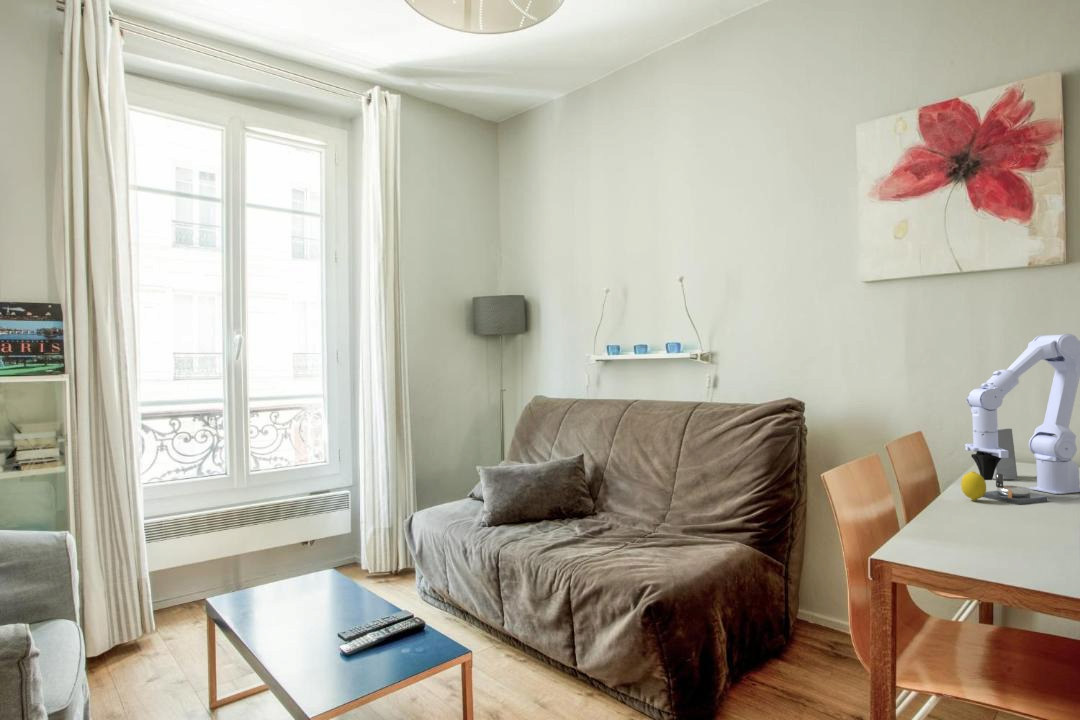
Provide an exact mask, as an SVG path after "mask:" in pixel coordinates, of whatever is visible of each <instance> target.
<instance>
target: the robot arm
mask: <svg viewBox="0 0 1080 720" xmlns="http://www.w3.org/2000/svg"><path fill="white" fill-rule="evenodd" d="M1041 360H1043V361H1044V362H1046V363H1048V364H1049V365H1051V366H1052V367H1053V369H1054V374H1053V380H1052V382H1051V383H1052V384H1051V388H1050V392H1049V397H1048V400H1047V404H1046V405H1047V406H1046V411H1045V415H1044V418H1043V419H1044V420H1043V423H1042V424H1040V425H1038V426H1037V427H1036V428H1035V429H1034V432H1033V435H1032V436H1031V437H1030V438H1029V441H1028V448H1029V451H1030V452H1031V453H1032V454H1033V457H1034V458H1035V462H1036V463H1035V466H1036V467H1035V468H1036V486H1030V487H1028V488H1029V489H1030V490H1033V491H1038V492H1042V493H1043V492H1044V493H1048V494H1049V493H1050V494H1054V495H1063V494H1064V495H1065V494H1073V493H1074V494H1075V493H1080V469H1079V465H1078V464H1077V463H1076V462H1075V461H1074V460H1072V459H1073V458H1074V457H1075V455H1076V453H1077V444H1076V437H1077V435H1076V434H1075V433H1074V432H1073V431H1072V430H1071V429H1070V423H1071V419H1072V418H1071V417H1072V414H1073V409H1074V405H1075V402H1076V401H1075V400H1076V395H1077V391H1078V387H1079V382H1080V340H1079V339H1078V337H1077V336H1076V335H1074V334H1072V333H1064V334H1040V335H1037V336H1035V337H1034V339H1033V340H1032V341H1030V342H1028V343H1027V347H1026V349H1025V350H1023V352H1022V353H1021V354H1020V355H1019V356H1018V357H1017V358H1016V359H1015V360H1014V362H1012V363H1011V364H1010V365H1009V366H1008V368H1006V369H998V370H995V371H994V372H992V376H991V377H990V378H989V379H987V380H986V381H985V382H983V383H981V384H980V386H979V388H974V389H972V390H971V391H970V392H969V394H968V396H967V398H965V401H966V404H967V405H968V406H969V407H970V413H971V414H972V415H971V417H972V439H973V440H972V442H973V443H972V442H971V443H965V444H964V446H965V447H964V448H965V451H971V452H975V453H971V455H970V456H971V459H973V460H974V463H975V464H976V466H977V469H978V472H979V475H981V476H982V477H983V478H984V480H985V481H993V480H994V479H993V475H994V472H995V469H996V466H997V464H998V463H999V461H1000V460H1001V458H1009V456H1008V451H1007V450H1004V449H1002V448H999V447H998V427H999V424H998V408H1000V407H1002V404H1003V401H1004V398H1005V397H1006V395H1008V394H1009V393H1010V392H1011V391H1012V390H1013V389H1014V388H1015V387H1017V385H1019V382H1020V379H1019V378H1020V377H1021V376H1022V375H1023V374H1025V373H1027V372H1028V370H1030V369H1031V368H1032V367H1034V366H1035V365H1036V364H1037V363H1038V362H1040V361H1041Z"/></svg>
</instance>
